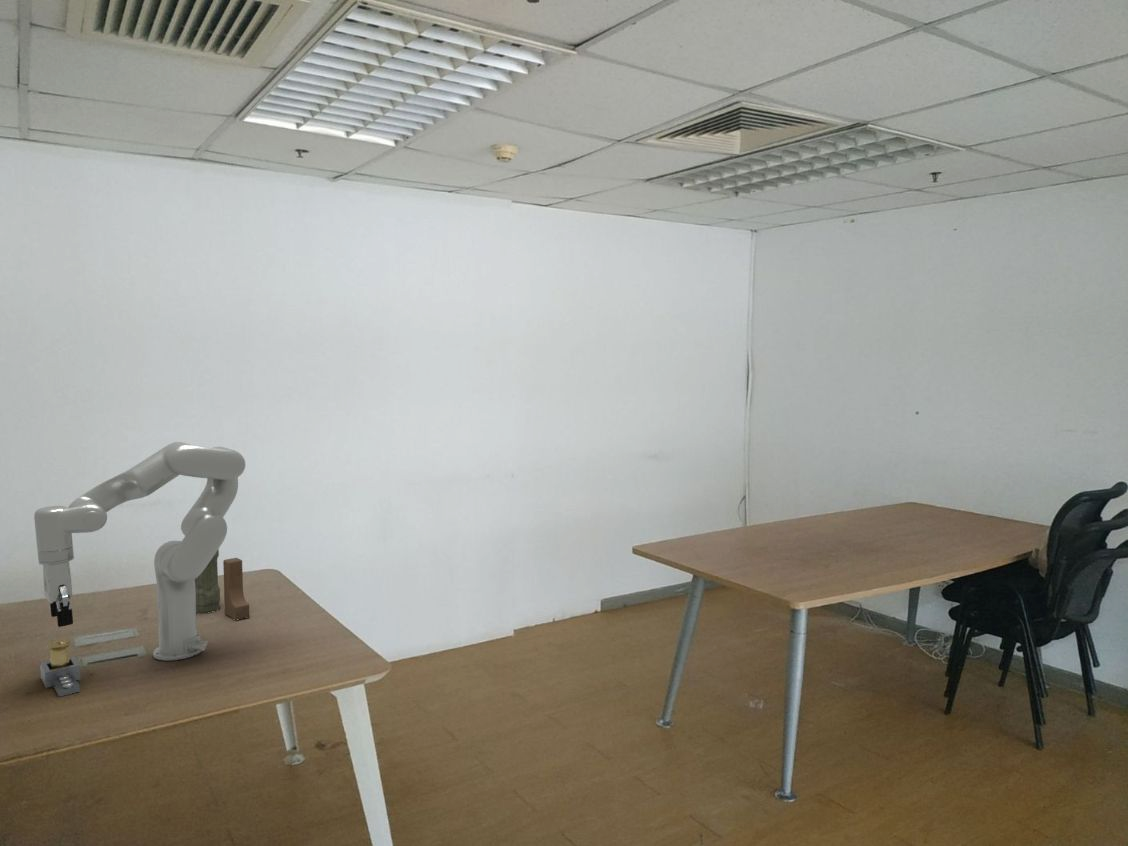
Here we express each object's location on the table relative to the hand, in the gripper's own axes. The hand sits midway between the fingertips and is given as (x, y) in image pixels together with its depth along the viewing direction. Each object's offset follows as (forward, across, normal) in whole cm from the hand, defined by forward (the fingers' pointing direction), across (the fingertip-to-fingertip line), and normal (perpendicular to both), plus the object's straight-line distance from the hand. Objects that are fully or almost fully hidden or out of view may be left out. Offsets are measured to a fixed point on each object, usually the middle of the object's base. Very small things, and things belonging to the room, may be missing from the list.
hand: (62, 620), depth 197 cm
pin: (+15, 0, -2) cm, 15 cm away
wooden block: (+18, -21, +50) cm, 57 cm away
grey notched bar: (+15, 0, -2) cm, 15 cm away
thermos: (+17, -34, +44) cm, 58 cm away
